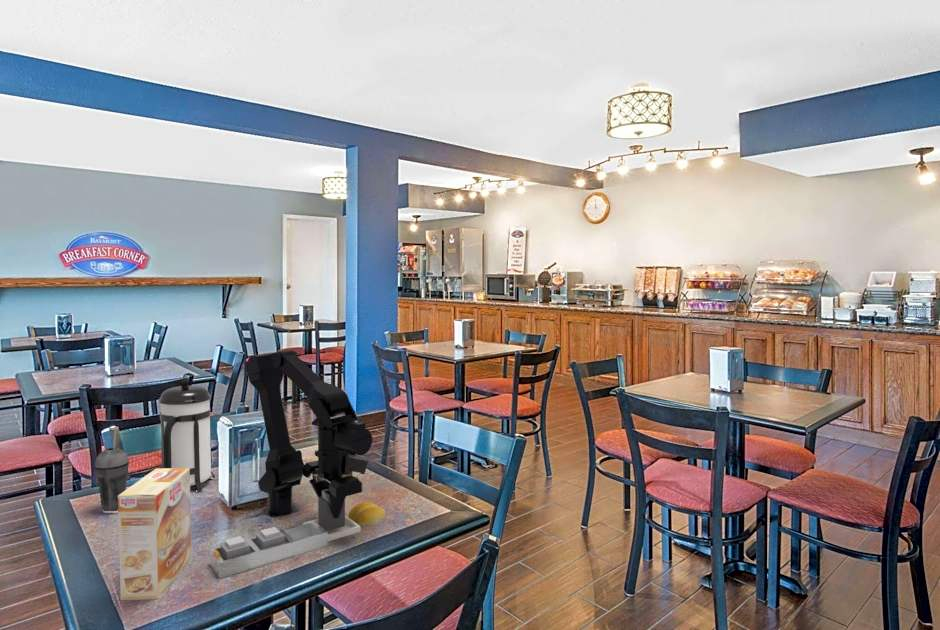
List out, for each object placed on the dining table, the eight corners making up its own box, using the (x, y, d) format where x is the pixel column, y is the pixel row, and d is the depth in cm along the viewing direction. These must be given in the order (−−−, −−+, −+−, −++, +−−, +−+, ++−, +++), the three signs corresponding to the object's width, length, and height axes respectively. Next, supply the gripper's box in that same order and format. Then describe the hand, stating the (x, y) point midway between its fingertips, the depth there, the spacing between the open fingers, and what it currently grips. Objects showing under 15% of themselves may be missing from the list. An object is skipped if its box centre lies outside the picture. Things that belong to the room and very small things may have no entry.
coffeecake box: (160, 601, 103) (157, 494, 101) (118, 603, 102) (114, 495, 101) (193, 560, 118) (191, 466, 116) (157, 561, 117) (154, 467, 116)
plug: (318, 524, 131) (318, 490, 131) (336, 519, 134) (336, 485, 133) (326, 531, 128) (326, 496, 127) (345, 526, 131) (344, 491, 130)
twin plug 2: (256, 553, 120) (255, 530, 119) (277, 547, 122) (276, 524, 122) (263, 562, 116) (263, 537, 116) (284, 555, 119) (284, 531, 119)
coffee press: (144, 486, 158) (141, 378, 156) (204, 472, 170) (202, 371, 168) (166, 504, 146) (163, 387, 144) (229, 488, 158) (227, 379, 156)
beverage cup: (88, 513, 140) (86, 432, 139) (117, 502, 147) (114, 425, 145) (109, 518, 137) (106, 435, 136) (137, 507, 144) (135, 428, 143)
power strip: (209, 566, 115) (209, 546, 115) (313, 536, 129) (313, 518, 129) (219, 581, 110) (219, 560, 109) (327, 547, 123) (327, 529, 123)
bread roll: (363, 532, 132) (363, 515, 132) (343, 519, 139) (343, 503, 138) (393, 522, 137) (393, 505, 137) (373, 510, 144) (373, 495, 144)
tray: (302, 530, 132) (302, 522, 132) (341, 519, 138) (341, 512, 138) (320, 546, 124) (320, 537, 124) (360, 534, 130) (360, 526, 130)
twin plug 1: (220, 564, 115) (220, 539, 115) (243, 557, 118) (242, 533, 118) (227, 572, 112) (226, 547, 111) (250, 566, 115) (250, 541, 114)
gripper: (383, 450, 127) (383, 519, 128) (345, 432, 142) (345, 493, 143) (337, 459, 120) (337, 532, 122) (301, 439, 135) (302, 504, 136)
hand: (331, 514), depth 131 cm, fingers closed on plug, 4 cm apart
